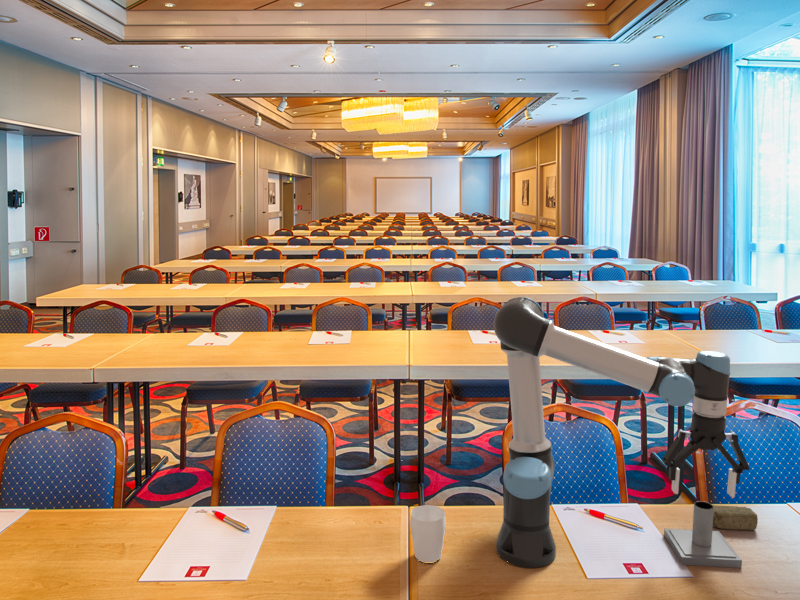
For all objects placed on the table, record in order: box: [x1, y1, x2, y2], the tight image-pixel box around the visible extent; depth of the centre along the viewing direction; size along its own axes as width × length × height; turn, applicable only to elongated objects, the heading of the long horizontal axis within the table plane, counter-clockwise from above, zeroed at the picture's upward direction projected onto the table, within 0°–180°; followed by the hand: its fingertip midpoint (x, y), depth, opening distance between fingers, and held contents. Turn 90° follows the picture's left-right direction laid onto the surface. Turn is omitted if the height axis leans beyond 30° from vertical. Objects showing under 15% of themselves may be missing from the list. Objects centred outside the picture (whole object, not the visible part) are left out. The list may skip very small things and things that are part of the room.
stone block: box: [712, 504, 758, 531], centre depth 166 cm, size 6×12×5 cm, turn 83°
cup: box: [409, 504, 447, 562], centre depth 152 cm, size 9×9×12 cm
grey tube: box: [692, 500, 714, 547], centre depth 153 cm, size 4×4×10 cm
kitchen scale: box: [663, 528, 743, 569], centre depth 154 cm, size 14×14×2 cm
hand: (702, 493), depth 152 cm, fingers open, 13 cm apart
